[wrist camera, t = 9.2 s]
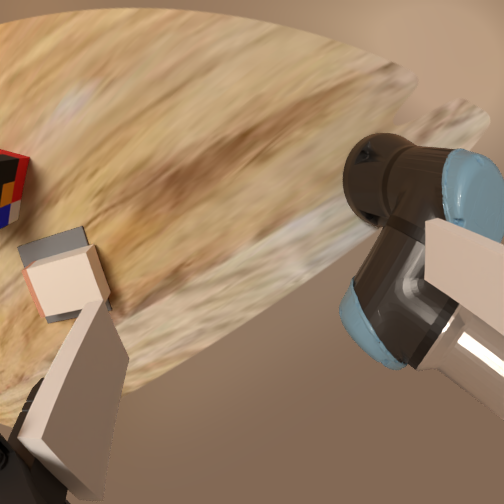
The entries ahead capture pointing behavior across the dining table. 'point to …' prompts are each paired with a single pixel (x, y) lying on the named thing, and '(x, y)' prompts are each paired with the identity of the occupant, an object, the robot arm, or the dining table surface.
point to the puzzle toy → (11, 185)
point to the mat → (53, 247)
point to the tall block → (66, 281)
